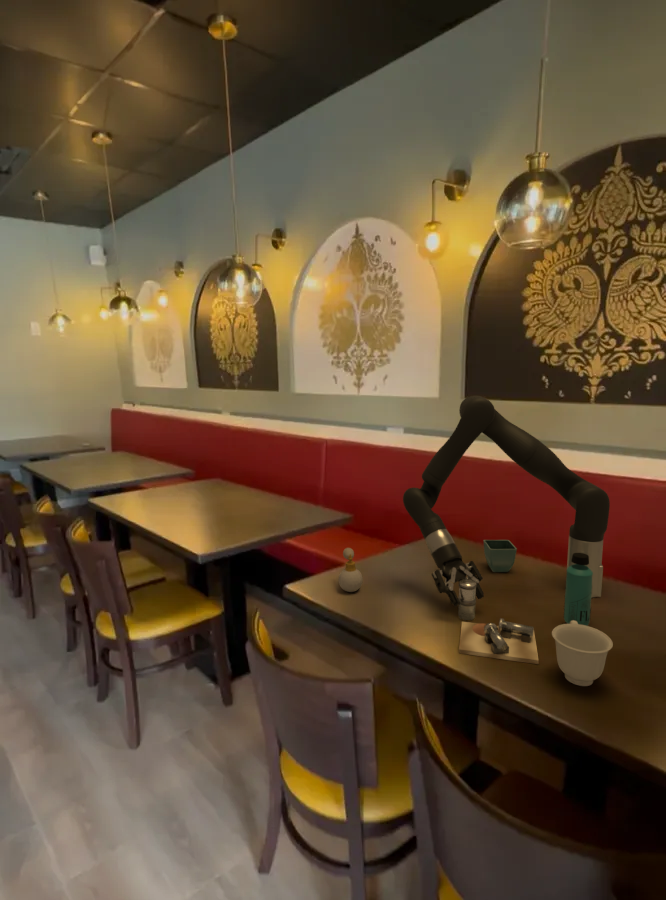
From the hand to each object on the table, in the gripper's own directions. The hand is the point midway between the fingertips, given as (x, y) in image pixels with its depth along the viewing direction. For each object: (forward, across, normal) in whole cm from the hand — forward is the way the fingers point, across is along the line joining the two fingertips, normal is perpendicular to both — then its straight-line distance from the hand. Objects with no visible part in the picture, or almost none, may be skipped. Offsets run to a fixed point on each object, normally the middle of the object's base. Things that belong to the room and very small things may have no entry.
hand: (469, 601), depth 142 cm
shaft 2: (+13, +2, -7) cm, 15 cm away
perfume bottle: (-20, -19, +27) cm, 38 cm away
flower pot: (-11, +32, +18) cm, 38 cm away
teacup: (+26, +3, -19) cm, 32 cm away
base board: (+13, -3, -6) cm, 14 cm away
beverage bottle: (+16, +21, -9) cm, 28 cm away
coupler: (+3, 0, +4) cm, 5 cm away
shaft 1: (+13, -5, -8) cm, 16 cm away
